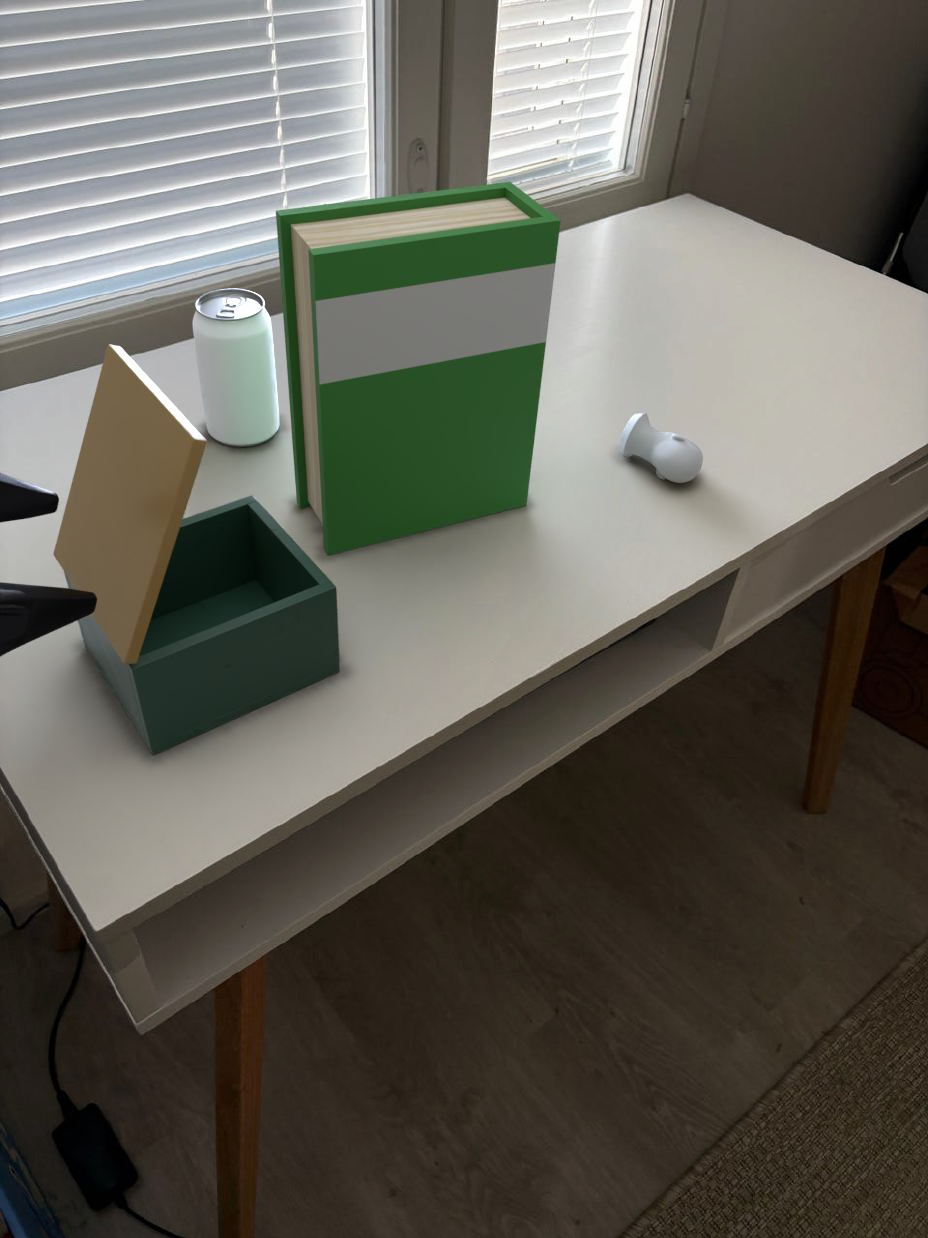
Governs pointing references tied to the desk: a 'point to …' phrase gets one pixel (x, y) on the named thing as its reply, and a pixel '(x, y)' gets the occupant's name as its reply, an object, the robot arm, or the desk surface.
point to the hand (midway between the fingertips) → (75, 550)
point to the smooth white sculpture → (661, 450)
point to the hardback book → (414, 356)
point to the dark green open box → (224, 627)
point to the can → (236, 367)
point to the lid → (127, 499)
